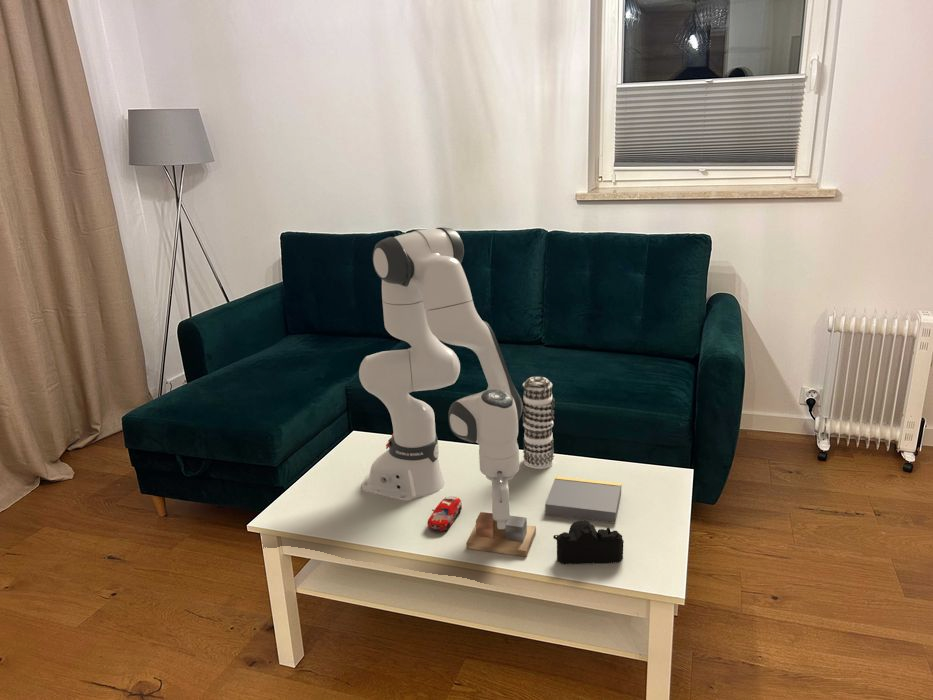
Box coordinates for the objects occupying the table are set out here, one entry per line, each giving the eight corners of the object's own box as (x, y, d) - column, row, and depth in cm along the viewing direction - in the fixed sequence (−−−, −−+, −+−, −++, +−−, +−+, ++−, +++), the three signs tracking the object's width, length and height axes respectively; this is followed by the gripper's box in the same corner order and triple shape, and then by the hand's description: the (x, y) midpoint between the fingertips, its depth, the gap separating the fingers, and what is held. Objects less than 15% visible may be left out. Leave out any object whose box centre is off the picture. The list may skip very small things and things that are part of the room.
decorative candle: (551, 471, 198) (550, 387, 190) (518, 467, 201) (516, 384, 193) (558, 456, 206) (558, 374, 198) (526, 452, 209) (525, 372, 201)
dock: (545, 514, 178) (545, 503, 177) (555, 486, 190) (555, 475, 189) (615, 523, 173) (615, 512, 172) (621, 493, 185) (621, 483, 184)
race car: (445, 535, 170) (444, 520, 169) (424, 531, 172) (423, 516, 171) (465, 508, 182) (465, 494, 181) (445, 504, 184) (445, 490, 182)
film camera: (617, 542, 166) (618, 508, 163) (624, 568, 157) (626, 532, 154) (551, 543, 166) (550, 509, 164) (554, 569, 157) (554, 534, 154)
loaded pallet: (466, 551, 165) (464, 508, 161) (478, 527, 174) (477, 485, 170) (526, 560, 161) (525, 515, 157) (535, 535, 170) (535, 492, 166)
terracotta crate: (476, 535, 166) (475, 521, 165) (481, 526, 170) (480, 511, 169) (493, 538, 165) (492, 523, 164) (497, 528, 169) (497, 513, 168)
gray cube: (505, 540, 164) (505, 524, 163) (510, 530, 168) (509, 515, 167) (522, 542, 163) (522, 527, 162) (526, 532, 167) (526, 517, 165)
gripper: (515, 485, 150) (516, 541, 155) (511, 441, 170) (513, 492, 174) (485, 485, 151) (487, 542, 155) (485, 442, 170) (487, 493, 175)
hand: (501, 515), depth 165 cm, fingers open, 8 cm apart
